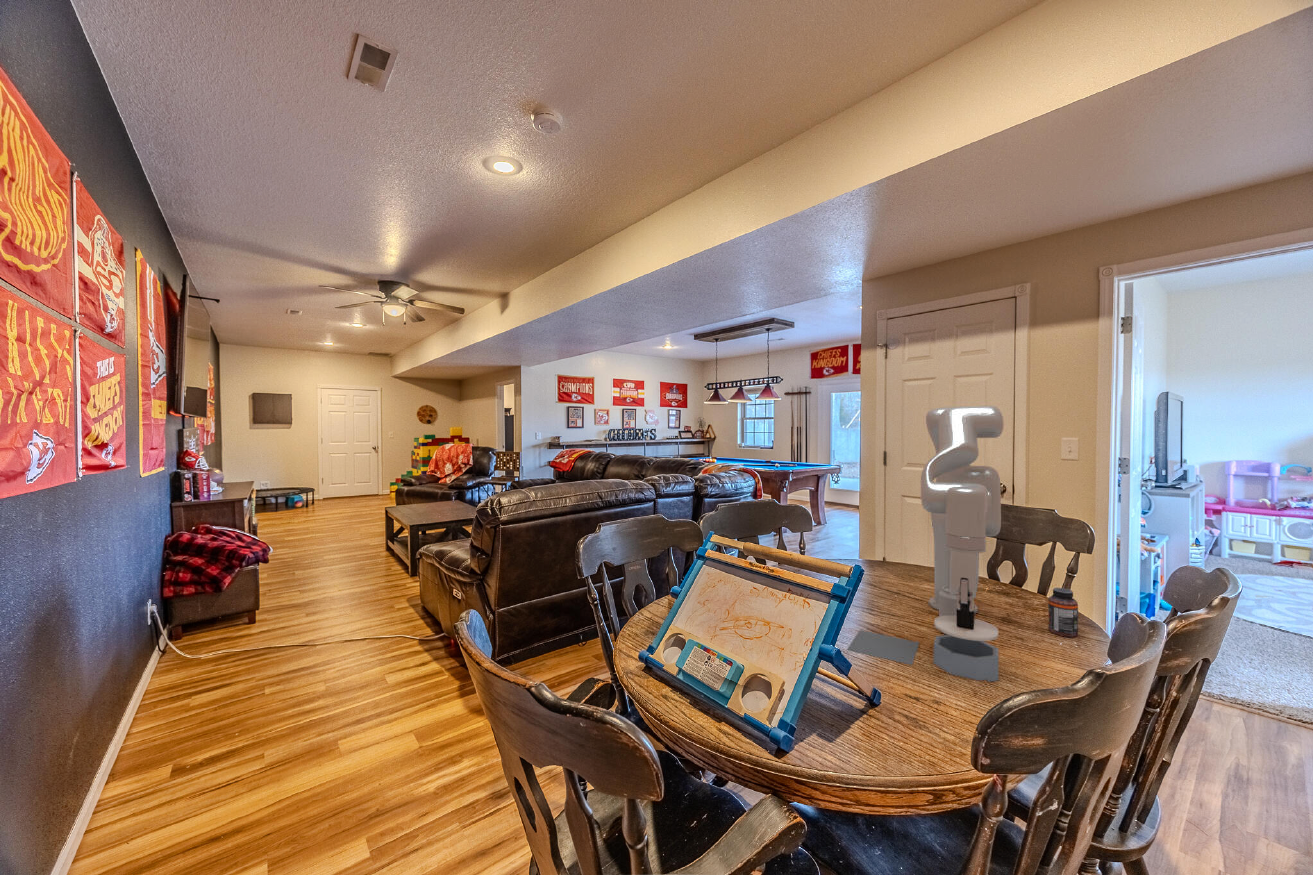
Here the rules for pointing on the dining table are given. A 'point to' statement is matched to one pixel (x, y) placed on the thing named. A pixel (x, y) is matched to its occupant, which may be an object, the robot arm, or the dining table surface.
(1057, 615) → the supplement bottle
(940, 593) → the can
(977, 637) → the lid
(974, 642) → the bowl
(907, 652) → the plate
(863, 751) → the dining table surface
